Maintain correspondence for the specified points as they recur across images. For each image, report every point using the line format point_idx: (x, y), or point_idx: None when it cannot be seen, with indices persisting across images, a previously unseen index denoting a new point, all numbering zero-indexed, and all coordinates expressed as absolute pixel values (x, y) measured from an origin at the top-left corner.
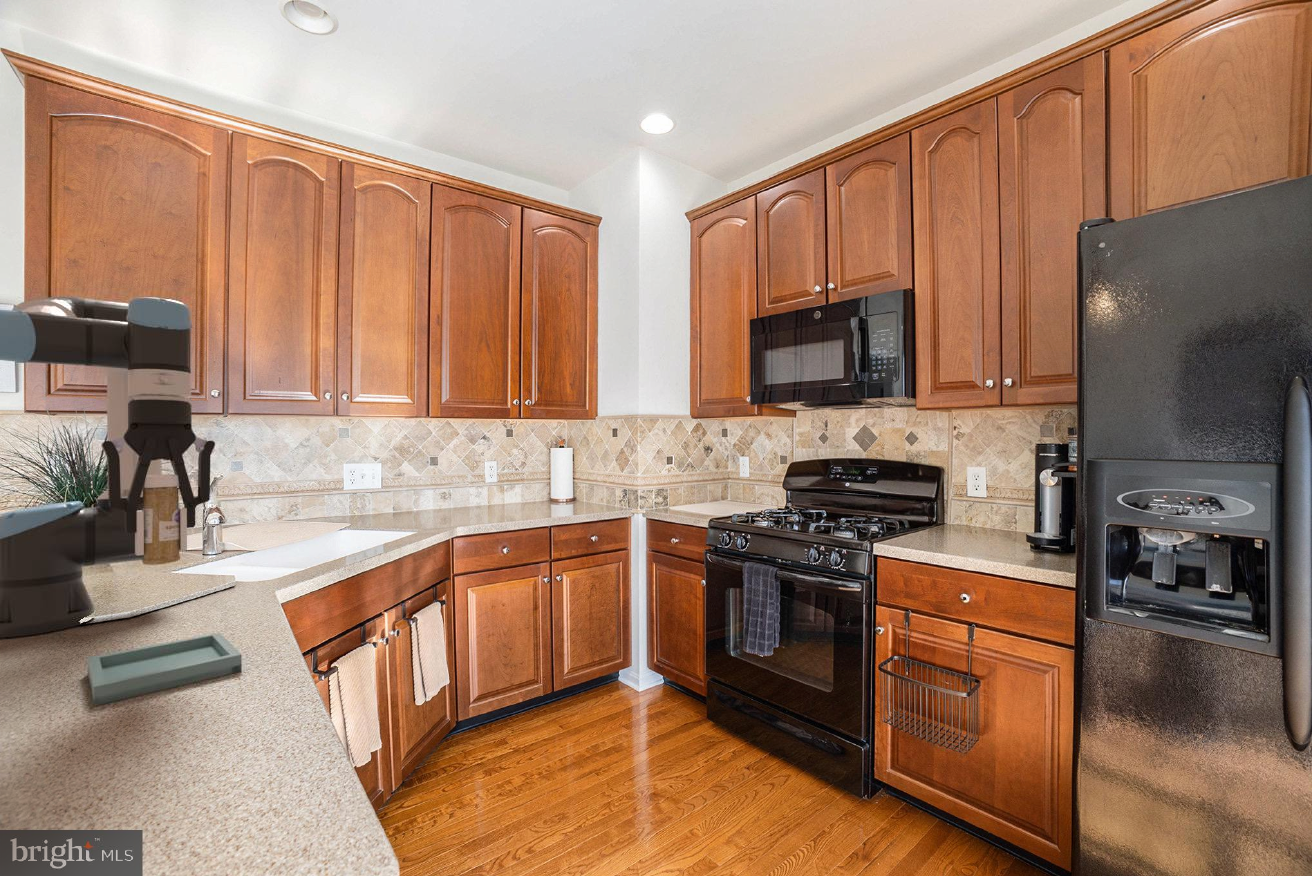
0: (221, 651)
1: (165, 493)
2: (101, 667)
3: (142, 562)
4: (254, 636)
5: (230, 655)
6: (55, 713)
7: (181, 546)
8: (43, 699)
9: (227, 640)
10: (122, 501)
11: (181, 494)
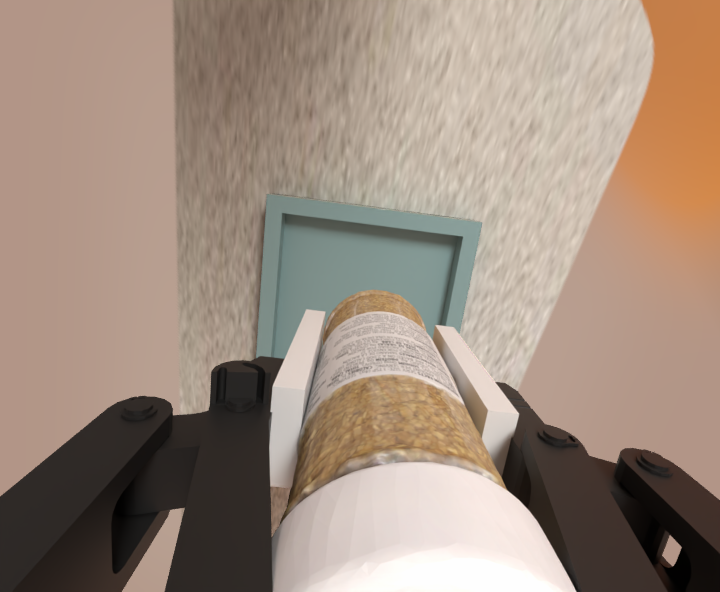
0: (442, 324)
1: None
2: (275, 288)
3: (324, 330)
4: (547, 195)
5: None
6: (222, 361)
7: None
8: (212, 278)
9: (465, 303)
10: (172, 504)
11: (534, 507)
